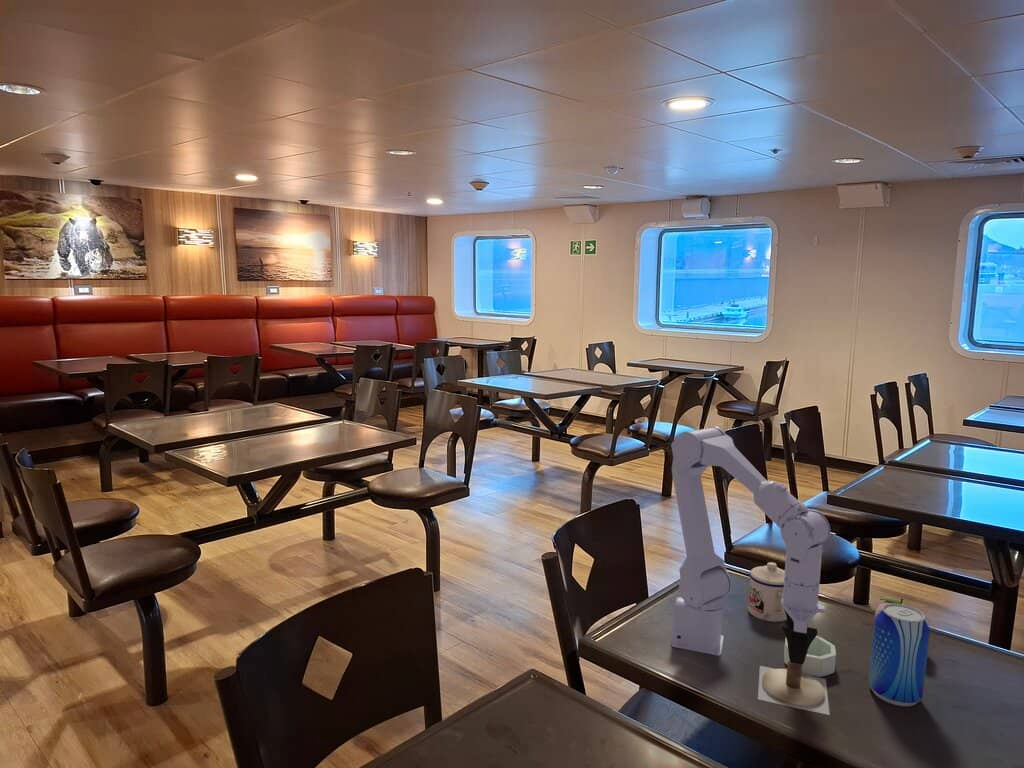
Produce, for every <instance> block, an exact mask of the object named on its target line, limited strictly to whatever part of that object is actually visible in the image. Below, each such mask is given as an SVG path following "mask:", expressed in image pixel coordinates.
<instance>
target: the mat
mask: <svg viewBox="0 0 1024 768" xmlns="http://www.w3.org/2000/svg"><path fill="white" fill-rule="evenodd" d="M773 669H775V668H773V667H767V666H763V665H759V673H758V676H759V677H758V688H757V689H758V690H757V691H758V692H757V700H758V701H763V702H766V703H772V704H776V705H781V706H786V707H790V708H794V709H799V710H803V711H808V712H811V713H817V714H822V715H826V716H830V715H831V714H830V705H829V697H828V696H829V695H828V690H827V689H828V687H827V679H826V678H822V677H818V676H811V675H810V676H811V677H813V678H814V679H816V680H817V681H818V682H819V683H820V684H821V685H822V686H823V688H824V691H825V694H824V700H823V701H822V702H821V703H820V704H818V705H815V706H807V707H804V706H795V705H791V704H787V703H784V702H782V701H779V700H777V699H776V698H774V697H772V696H771V695H770V694H768V693H767V692H766V691H765V689H764V688H763V685H762V678H763V675H764V674H765V673H766V672H767V671H770V670H773Z"/></svg>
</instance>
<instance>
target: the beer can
mask: <svg viewBox="0 0 1024 768" xmlns="http://www.w3.org/2000/svg"><path fill="white" fill-rule="evenodd" d="M907 605H908V604H904V605H902V604H894V603H892V604H886V605H884V606H883V607H882V611H881V612H880V613H879V614H878V615H877V616H876V618H875V617H874V627H873V638H872V646H871V647H872V649H871V656H870V657H871V658H870V667H869V677H868V684H869V687H870V688H871V690H872V692H873V694H874V695H875V696H877V698H879V700H883V701H884V702H886V703H888V704H892V705H894V706H899V707H912V706H915V705H916V704H918V703H919V702H920V701H922V700H923V695H924V689H925V688H924V687H925V677H926V669H927V659H928V651H929V642H930V634H931V629H930V627H929V625H928V624H927V621H926V616H925V614H924V613H923V612H922V611H921V610H920V609H918V608H916V607H915V608H916V609H915V608H913V607H914V606H913V607H910V606H911V605H910V606H907ZM917 609H918V610H917Z"/></svg>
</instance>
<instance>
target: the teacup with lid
mask: <svg viewBox="0 0 1024 768" xmlns="http://www.w3.org/2000/svg"><path fill="white" fill-rule="evenodd" d="M748 575H749V591H748V604H747V610H748V612H749V613H750V614H751V616H754V617H755V618H756V619H758V620H759V619H760V620H762V621H766V622H770V623H771V622H773V623H782V621H787V617H786V613H785V610H784V608H783V607H782V605H781V600H782V598H783V589H784V576H785V569H782V568H779V567H778V566H777V563H776V562H767V564H766V565H763V566H756V567H754V568H752V569H750V571H749V574H748Z"/></svg>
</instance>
